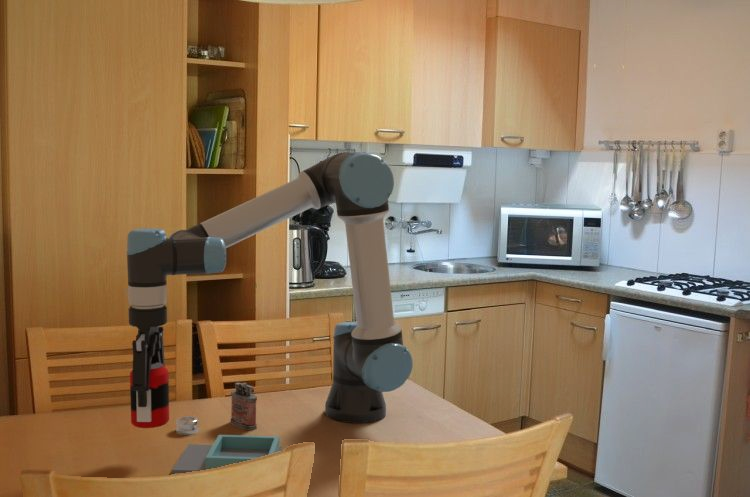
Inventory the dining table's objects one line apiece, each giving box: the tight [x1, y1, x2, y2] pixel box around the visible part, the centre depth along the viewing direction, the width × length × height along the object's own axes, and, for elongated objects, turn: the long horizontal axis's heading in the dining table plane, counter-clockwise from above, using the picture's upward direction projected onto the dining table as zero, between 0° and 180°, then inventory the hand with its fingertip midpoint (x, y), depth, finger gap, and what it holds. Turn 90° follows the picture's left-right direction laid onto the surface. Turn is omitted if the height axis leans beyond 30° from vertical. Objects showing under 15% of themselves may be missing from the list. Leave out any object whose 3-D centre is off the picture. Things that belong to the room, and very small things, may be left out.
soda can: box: [129, 362, 170, 429], centre depth 162 cm, size 8×8×12 cm
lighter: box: [230, 382, 258, 431], centre depth 185 cm, size 8×3×10 cm, turn 47°
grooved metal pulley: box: [175, 415, 200, 436], centre depth 180 cm, size 5×3×5 cm
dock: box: [171, 434, 283, 475], centre depth 162 cm, size 20×14×4 cm
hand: (150, 414), depth 162 cm, fingers closed on soda can, 7 cm apart
